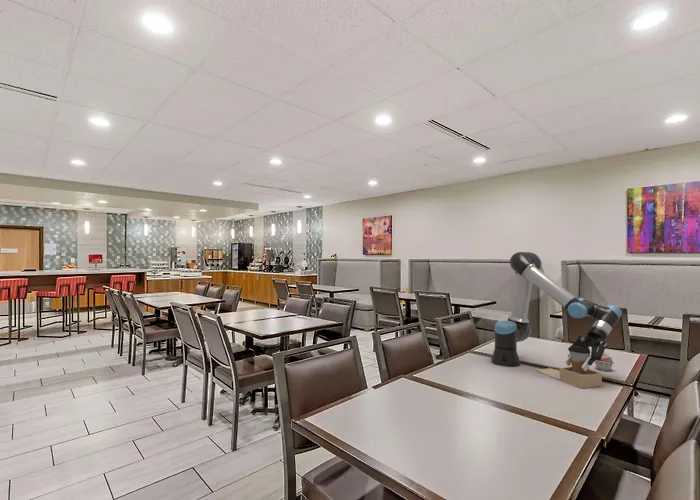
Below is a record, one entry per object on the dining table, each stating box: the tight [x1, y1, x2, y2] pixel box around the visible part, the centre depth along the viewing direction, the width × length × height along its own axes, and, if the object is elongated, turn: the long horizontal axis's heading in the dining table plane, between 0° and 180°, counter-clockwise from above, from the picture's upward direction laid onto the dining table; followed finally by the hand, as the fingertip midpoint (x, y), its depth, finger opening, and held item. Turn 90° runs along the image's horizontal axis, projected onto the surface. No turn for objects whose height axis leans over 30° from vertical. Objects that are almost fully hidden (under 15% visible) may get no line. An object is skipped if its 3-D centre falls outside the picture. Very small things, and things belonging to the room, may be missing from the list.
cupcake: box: [594, 351, 615, 372], centre depth 198 cm, size 9×9×10 cm
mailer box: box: [536, 366, 603, 390], centre depth 182 cm, size 28×12×6 cm, turn 18°
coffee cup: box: [569, 344, 591, 375], centre depth 175 cm, size 8×8×15 cm
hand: (575, 366), depth 174 cm, fingers closed on coffee cup, 8 cm apart
